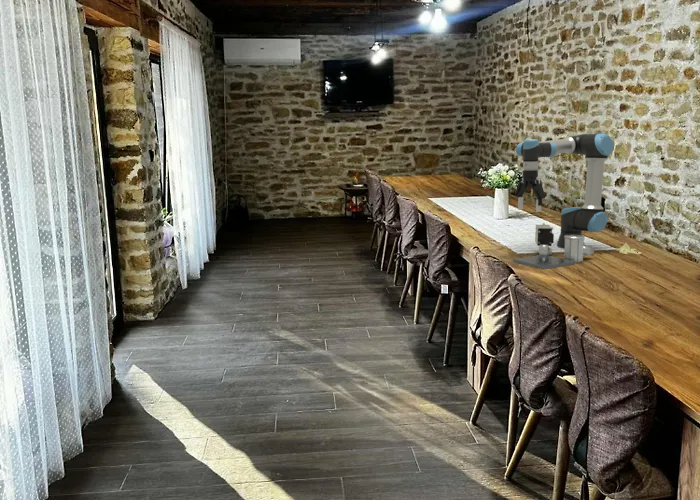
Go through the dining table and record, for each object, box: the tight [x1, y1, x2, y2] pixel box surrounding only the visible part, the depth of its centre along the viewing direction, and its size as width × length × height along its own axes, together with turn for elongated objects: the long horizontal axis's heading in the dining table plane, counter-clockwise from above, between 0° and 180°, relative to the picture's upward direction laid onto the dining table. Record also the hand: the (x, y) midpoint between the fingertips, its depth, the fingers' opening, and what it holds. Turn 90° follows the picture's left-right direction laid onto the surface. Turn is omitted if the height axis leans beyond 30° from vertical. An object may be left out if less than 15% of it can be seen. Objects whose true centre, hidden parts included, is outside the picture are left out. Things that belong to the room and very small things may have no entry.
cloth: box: [615, 242, 642, 255], centre depth 344 cm, size 22×19×6 cm
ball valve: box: [534, 223, 555, 256], centre depth 333 cm, size 18×8×18 cm, turn 168°
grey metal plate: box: [512, 244, 576, 270], centre depth 315 cm, size 22×22×10 cm
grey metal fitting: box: [563, 234, 595, 263], centre depth 320 cm, size 17×10×13 cm, turn 117°
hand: (529, 210), depth 318 cm, fingers open, 13 cm apart
